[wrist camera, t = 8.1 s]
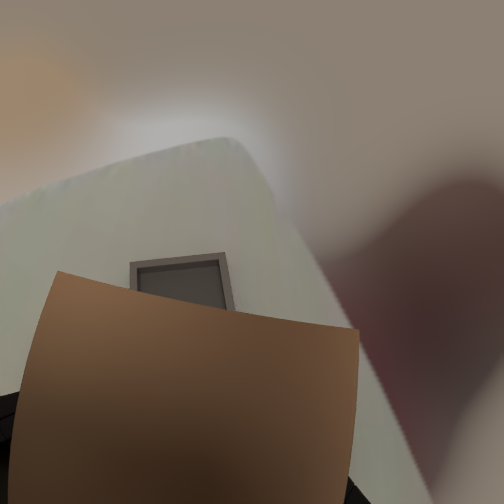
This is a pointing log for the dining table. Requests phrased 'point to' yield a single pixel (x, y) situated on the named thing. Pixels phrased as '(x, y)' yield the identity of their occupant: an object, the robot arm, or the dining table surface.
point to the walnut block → (180, 404)
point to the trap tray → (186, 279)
